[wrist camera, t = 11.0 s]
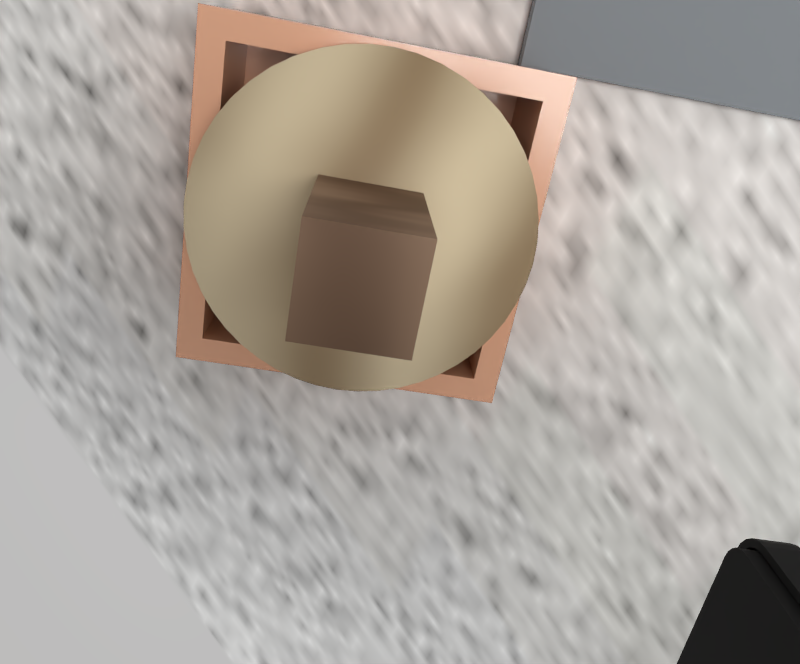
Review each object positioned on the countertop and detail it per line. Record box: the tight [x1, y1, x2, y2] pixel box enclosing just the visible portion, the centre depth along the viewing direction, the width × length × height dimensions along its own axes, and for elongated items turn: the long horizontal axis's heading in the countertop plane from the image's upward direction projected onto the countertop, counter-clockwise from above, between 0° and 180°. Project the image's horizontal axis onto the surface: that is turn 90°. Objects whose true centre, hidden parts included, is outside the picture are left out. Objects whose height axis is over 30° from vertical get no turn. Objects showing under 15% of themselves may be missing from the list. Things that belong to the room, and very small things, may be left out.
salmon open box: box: [176, 3, 577, 403], centre depth 26 cm, size 12×12×5 cm
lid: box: [184, 44, 539, 391], centre depth 21 cm, size 12×12×7 cm
